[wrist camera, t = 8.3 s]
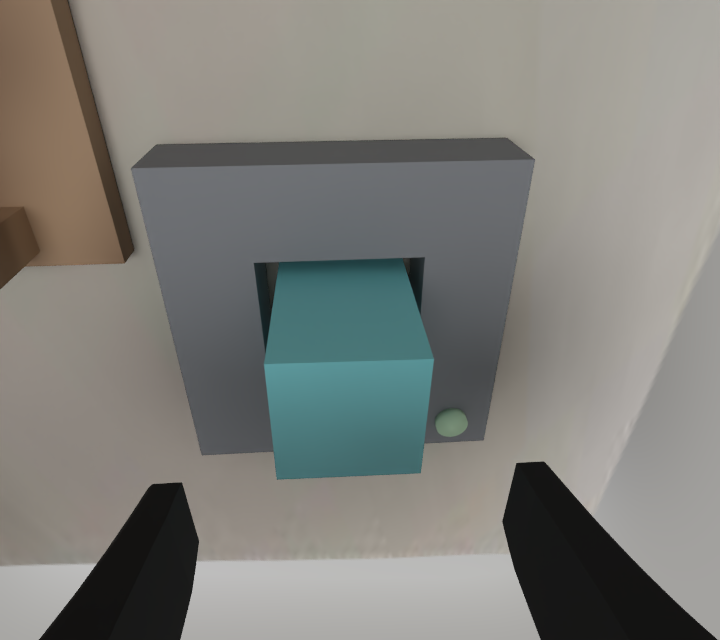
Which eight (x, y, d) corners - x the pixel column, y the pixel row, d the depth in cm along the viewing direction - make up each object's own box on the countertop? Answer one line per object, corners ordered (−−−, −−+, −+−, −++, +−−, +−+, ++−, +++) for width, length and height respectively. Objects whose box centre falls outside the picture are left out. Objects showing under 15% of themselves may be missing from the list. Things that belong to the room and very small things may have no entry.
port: (213, 410, 22) (200, 461, 19) (156, 144, 16) (127, 171, 13) (467, 397, 22) (485, 445, 20) (506, 137, 16) (539, 162, 14)
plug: (289, 335, 20) (277, 479, 14) (282, 240, 18) (264, 364, 12) (391, 333, 20) (420, 473, 14) (396, 239, 18) (433, 359, 12)
